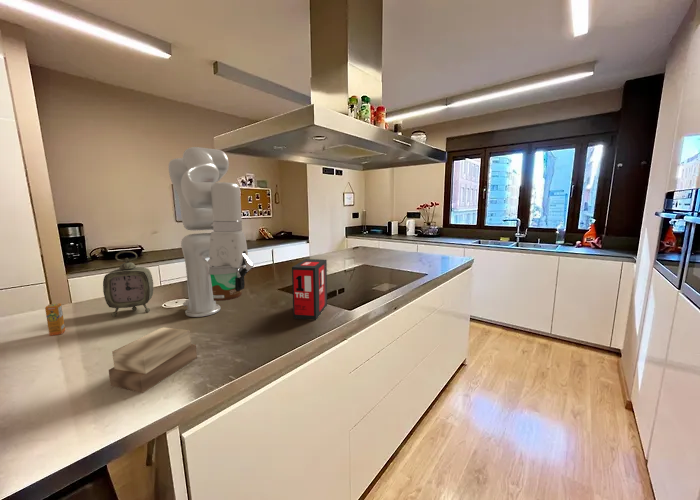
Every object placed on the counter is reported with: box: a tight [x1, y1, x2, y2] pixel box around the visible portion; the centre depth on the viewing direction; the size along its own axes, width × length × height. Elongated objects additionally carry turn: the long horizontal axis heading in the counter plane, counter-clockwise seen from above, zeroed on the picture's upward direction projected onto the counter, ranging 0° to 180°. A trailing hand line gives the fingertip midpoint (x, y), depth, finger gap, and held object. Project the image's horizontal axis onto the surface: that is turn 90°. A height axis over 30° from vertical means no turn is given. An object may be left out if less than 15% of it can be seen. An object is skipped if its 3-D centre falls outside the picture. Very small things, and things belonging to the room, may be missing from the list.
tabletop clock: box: [102, 250, 154, 317], centre depth 115 cm, size 14×9×25 cm, turn 114°
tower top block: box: [111, 327, 192, 374], centre depth 74 cm, size 9×14×4 cm, turn 168°
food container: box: [209, 265, 246, 302], centre depth 84 cm, size 12×6×10 cm, turn 168°
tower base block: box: [108, 343, 198, 394], centre depth 75 cm, size 10×16×4 cm, turn 164°
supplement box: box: [44, 302, 66, 337], centre depth 96 cm, size 3×3×10 cm
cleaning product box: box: [291, 258, 328, 321], centre depth 116 cm, size 16×9×20 cm, turn 170°
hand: (231, 288), depth 85 cm, fingers closed on food container, 5 cm apart
